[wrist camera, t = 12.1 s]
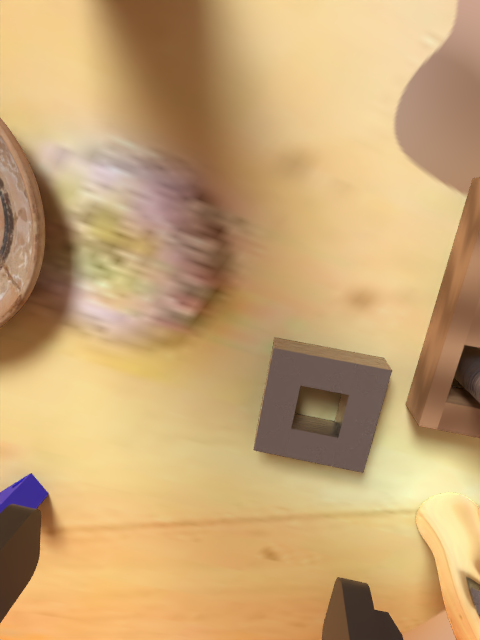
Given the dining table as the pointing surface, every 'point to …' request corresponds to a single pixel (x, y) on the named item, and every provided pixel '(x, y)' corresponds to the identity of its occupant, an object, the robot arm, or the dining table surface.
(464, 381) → the round metal peg
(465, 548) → the beer glass
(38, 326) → the dining table surface
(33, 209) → the ceramic bowl
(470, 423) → the rack
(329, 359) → the socket block
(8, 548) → the robot arm
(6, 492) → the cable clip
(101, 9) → the dining table surface
